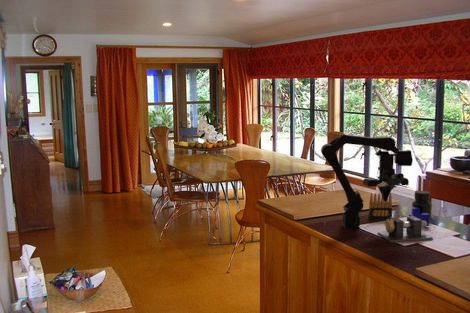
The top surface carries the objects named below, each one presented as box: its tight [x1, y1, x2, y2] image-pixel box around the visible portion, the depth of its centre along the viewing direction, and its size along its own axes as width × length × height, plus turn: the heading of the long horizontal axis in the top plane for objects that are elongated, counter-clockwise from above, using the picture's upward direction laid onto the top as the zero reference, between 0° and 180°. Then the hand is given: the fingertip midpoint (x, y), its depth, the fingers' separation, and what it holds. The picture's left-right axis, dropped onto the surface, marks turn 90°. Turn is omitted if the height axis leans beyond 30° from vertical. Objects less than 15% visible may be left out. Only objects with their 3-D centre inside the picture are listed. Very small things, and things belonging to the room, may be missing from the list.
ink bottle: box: [411, 190, 433, 219], centre depth 240 cm, size 10×9×12 cm
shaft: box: [384, 219, 427, 233], centre depth 209 cm, size 16×6×6 cm, turn 100°
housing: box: [377, 216, 434, 243], centre depth 209 cm, size 18×12×8 cm, turn 101°
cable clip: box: [408, 207, 430, 227], centre depth 229 cm, size 12×4×6 cm, turn 1°
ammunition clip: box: [367, 192, 393, 220], centre depth 238 cm, size 11×2×12 cm, turn 89°
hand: (385, 201), depth 221 cm, fingers closed
